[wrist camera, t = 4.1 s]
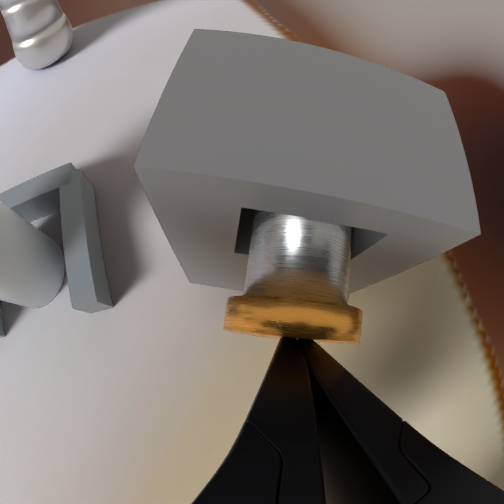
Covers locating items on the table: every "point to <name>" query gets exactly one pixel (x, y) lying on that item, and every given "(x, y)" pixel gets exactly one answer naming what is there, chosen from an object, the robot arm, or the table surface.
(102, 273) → the cradle
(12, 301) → the cylinder
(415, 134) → the block
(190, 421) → the table surface
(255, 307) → the plunger
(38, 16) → the plastic bottle
